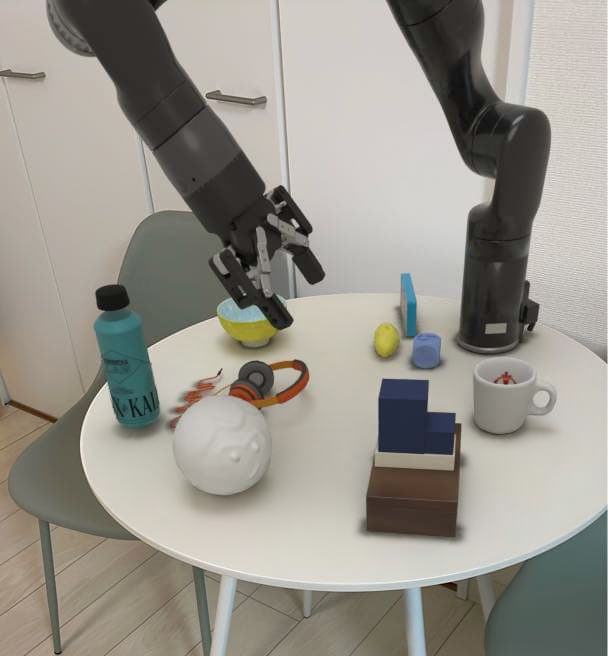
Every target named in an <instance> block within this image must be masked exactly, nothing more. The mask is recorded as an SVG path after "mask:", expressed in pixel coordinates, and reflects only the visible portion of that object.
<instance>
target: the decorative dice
mask: <svg viewBox="0 0 608 656" xmlns="http://www.w3.org/2000/svg"><path fill="white" fill-rule="evenodd" d="M412 341H413V342H412V352H411V363H412V365H414V366H415V367H417V368H420V369H434V368H435V367H437V366H438V365H439V364H440V359H441V350H442V349H441V347H442V338H441V337H440V335H438V334H437V333H433V332H421V333H418V334H416V336H414V337H413V340H412Z"/></svg>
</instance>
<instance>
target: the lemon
mask: <svg viewBox="0 0 608 656" xmlns="http://www.w3.org/2000/svg"><path fill="white" fill-rule="evenodd" d="M399 333H400V332H399V331H398V329H397V328H396V326H394V324H392V323H389V322H382V323H380V324H379V325H378V326H377V328H376V329H375V331H374V336H373V344H374V349H375V350H376V353H377V354H378V355H379V356H381V357H383V358H387V357H390V356H392V354H393V353H394V352H395V351H396V349H397V348H398V346H399V344H400V341H401V337H400V334H399Z"/></svg>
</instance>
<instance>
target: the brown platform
mask: <svg viewBox="0 0 608 656" xmlns="http://www.w3.org/2000/svg"><path fill="white" fill-rule="evenodd" d="M462 425H463V424H462V423H461V422H455V435H456V443H455V460H454V470H453V471H451V470H431V469H412V468H393V467H375V452H374V454H373V459H372V463H371V464H372V465H371V469H370V476H369V480H368V484H367V490H366V494H365V506H366V507H365V516H366V517H365V520H366V523H365V524H366V525H365V526H366V529H365V530H366V531H367V532H377V533H378V532H379V533H393V534H394V533H395V534H408V535H421V536H422V535H423V536H436V537H437V536H438V537H452V538H455V537H456V533H457V520H458V509H459V495H460V494H459V491H460V472H461V470H460V469H461V449H462V448H461V447H462V427H463V426H462ZM375 449H376V447H375ZM375 449H374V450H375Z"/></svg>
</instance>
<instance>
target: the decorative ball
mask: <svg viewBox="0 0 608 656" xmlns="http://www.w3.org/2000/svg"><path fill="white" fill-rule="evenodd" d="M199 400H200V401H198V402H194V403H192V404H191V405H192V406H191V407H187V408H186V409H187V410H184V412H183V413H182V414H181V415H182V416H181V415H180V416H181V417H180V418H179V420H178V422H177V423H176V425H175V426H176V428H174V430H173V431H174V432H173V436H172V452H173V453H172V454H173V457H174V462H175V464H176V466H177V468H178V470H179V471H180V473H181V475H182V476H183V478H185V480H187V482H189V483H190V485H192V486H194V487H195V488H197V489H198V490H200V491H202V492H204V493H207V494H210V495H216V496H232V495H236V494H239V493H242V492H245V491H246V490H248V489H250V488H251V487H253V486H254V485H255V484H257V483H258V481H260V480H261V478H262V477H263V476H264V474H265V473H266V471H267V470H268V467H269V465H270V463H271V459H272V456H273V437H272V432H271V429H270V427H269V423H268V421H267V419H266V417H265V416H264V414H263V413H262V411H261V410H260V411H259V410H258V409H257V408H256V407H255V406H253V405H252V404H250V403H248V402H246V401H244V400H242V399H240V398H237V397H233V396H228V395H226V394H224V395H223V394H220V395H218V394H217V395H215V396H213V395H211V396H208V397H205V398H201V399H199Z"/></svg>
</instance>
